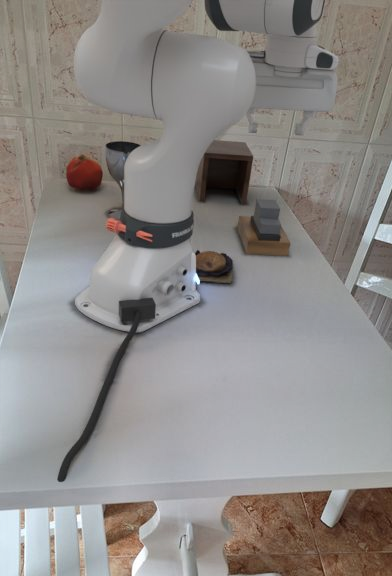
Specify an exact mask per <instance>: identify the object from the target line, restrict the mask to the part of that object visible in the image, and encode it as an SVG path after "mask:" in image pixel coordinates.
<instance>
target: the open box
mask: <svg viewBox="0 0 392 576" xmlns="http://www.w3.org/2000/svg"><path fill="white" fill-rule="evenodd" d="M253 161H254V155H253V153H252V151H251V150H250V148H249V146H248V144H247V142H246V141H233V140H219V139H215V140H214V141H213V142H212V143H211V144H210V146H209V147H208V149H207V150H206V152H205V153H204V155H203V157H202V159H201V162H200V164H199V167H198V171H197V176H196V181H195V188H196V193H197V197H198V201H199V202H201V203H202V202H203V203H204V202H205V197H206V189H207V188H213V189H228V190H235V192H236V194H237V197H238V200H239V201H240V204H241V205H247V199H248V193H249V187H250V181H251V174H252V168H253V163H254V162H253Z"/></svg>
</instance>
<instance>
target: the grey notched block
mask: <svg viewBox="0 0 392 576" xmlns="http://www.w3.org/2000/svg"><path fill="white" fill-rule="evenodd" d="M280 214H281V207H280V205H279V204H278V202H277V200H276V199H265V198H256V199H255V205H254V211H253V215H250V216H251V219H250V221H251V223H252V226H253V228H254V231H255V233H256V235H257V238H258V240H268V241H280V238H281V235H280V230H281V226H282V223H281V221H280Z"/></svg>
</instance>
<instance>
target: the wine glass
mask: <svg viewBox="0 0 392 576" xmlns="http://www.w3.org/2000/svg"><path fill="white" fill-rule="evenodd" d="M139 146H141V144H139V143H137V142H132V141H125V140H123V141H122V140H120V141H119V140H117V141H109V142H107V143H106V144H105V151H104V153H105V161H106V166H107V170H108V173H109V175H110V177H111V178H112V179H113V180H114V182H115V183H116V184H117V185H118V187H119V188H120V191H121V200H122V204H121V205H122V207H123V206H124V165H125V162H126V159H127V157H128V156H129V154H130V153H131V152H132V151H133V150H134V149H136V148H137V147H139ZM122 207H118V208H117V207H116V208H113V209H110V210H109V211H108V213H107V214H108V216H109V218H114V219H115V220H117V221H119V216H120V214H121V210H122Z"/></svg>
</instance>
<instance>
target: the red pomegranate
mask: <svg viewBox="0 0 392 576" xmlns="http://www.w3.org/2000/svg"><path fill="white" fill-rule="evenodd" d="M65 171H66V173H65V177H66V181H67V184H68V186H69V187H71V188H72V189H75V190H78V191H95V190H97V189H98V188H99V187H101V185H102V181H103V176H104V172H103V169H102V166H101V164H99V163H98V161H96V160H94V159H92V158H90V157H88V156H86V155H85V154H83V153H81V154H79V155H76V156H74V157H73V158H72V159H71V160H70V161H69V162H68V164H67V166H66V170H65Z"/></svg>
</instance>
